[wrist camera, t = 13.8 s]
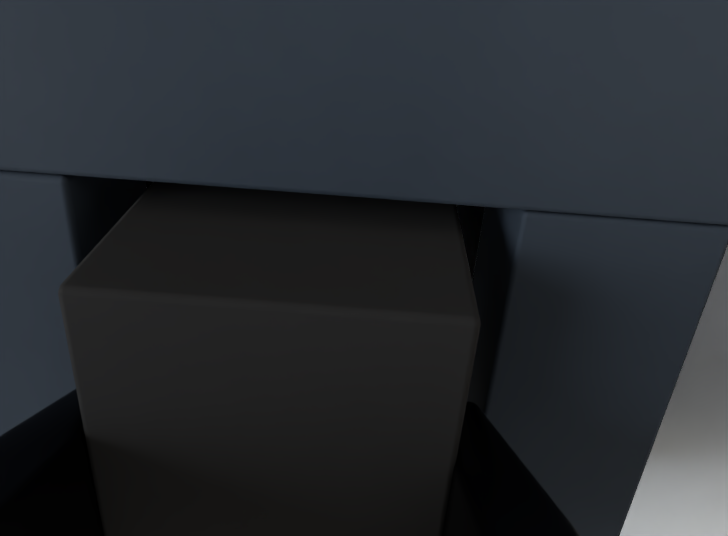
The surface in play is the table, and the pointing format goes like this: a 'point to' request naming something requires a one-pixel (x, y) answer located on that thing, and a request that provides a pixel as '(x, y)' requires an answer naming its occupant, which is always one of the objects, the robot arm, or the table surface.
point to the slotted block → (403, 179)
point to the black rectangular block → (273, 363)
